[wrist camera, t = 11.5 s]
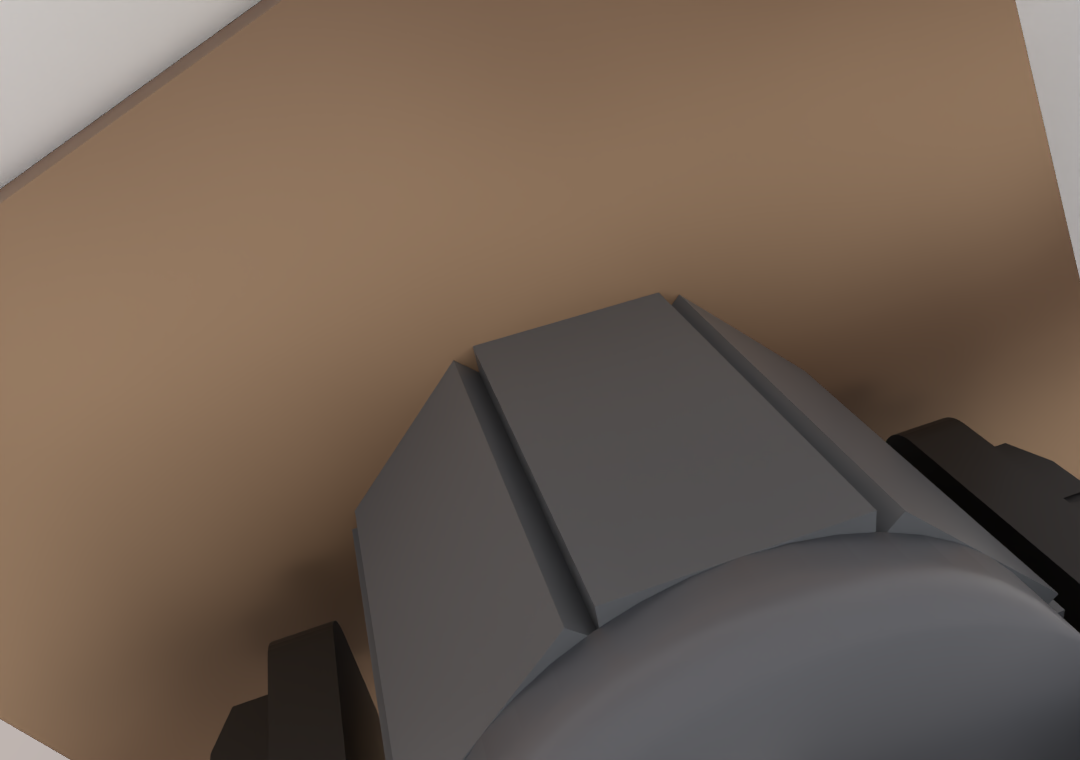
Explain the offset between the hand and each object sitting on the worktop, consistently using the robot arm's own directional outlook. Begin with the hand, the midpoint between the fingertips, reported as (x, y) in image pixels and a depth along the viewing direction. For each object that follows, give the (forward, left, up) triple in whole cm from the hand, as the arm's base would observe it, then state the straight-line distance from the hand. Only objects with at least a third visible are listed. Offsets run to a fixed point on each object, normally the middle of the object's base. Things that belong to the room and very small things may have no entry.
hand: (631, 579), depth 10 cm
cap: (0, 0, -1) cm, 1 cm away
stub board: (0, 0, -2) cm, 2 cm away
